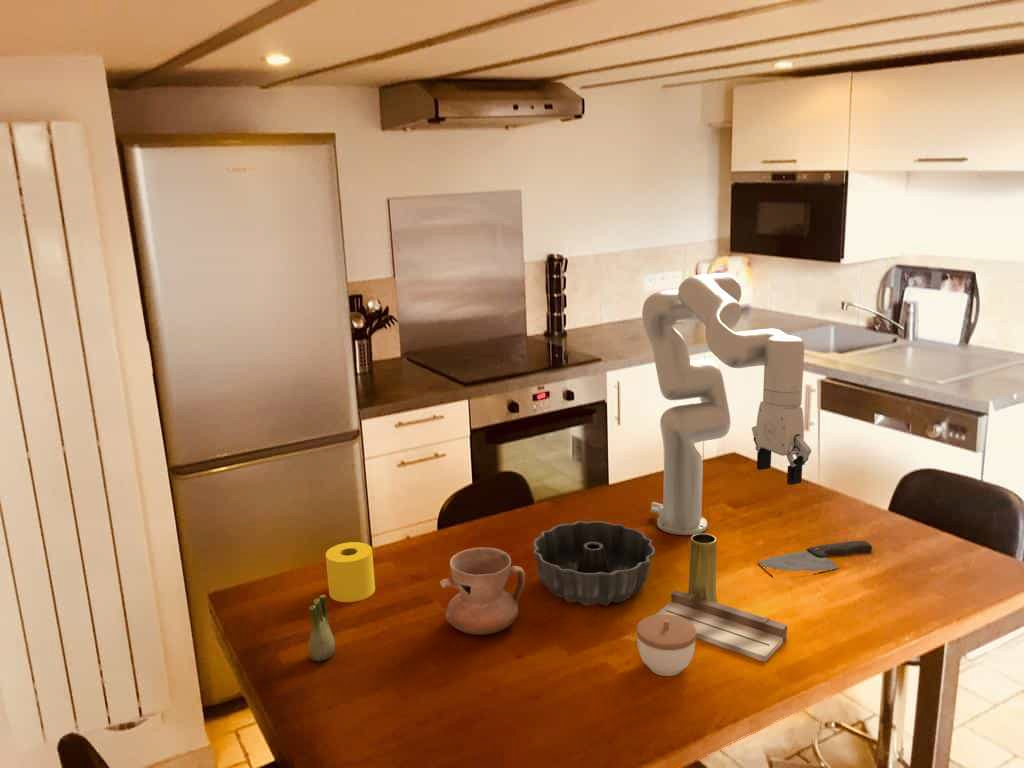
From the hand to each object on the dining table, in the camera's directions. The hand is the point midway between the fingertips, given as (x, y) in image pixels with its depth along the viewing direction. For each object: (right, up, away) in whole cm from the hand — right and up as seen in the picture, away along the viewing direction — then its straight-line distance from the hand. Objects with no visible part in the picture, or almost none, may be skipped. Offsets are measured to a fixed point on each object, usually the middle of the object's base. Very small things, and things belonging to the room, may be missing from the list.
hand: (778, 476), depth 179 cm
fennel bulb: (-92, -33, -14) cm, 99 cm away
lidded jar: (-27, -33, -21) cm, 47 cm away
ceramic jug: (-61, -30, -4) cm, 68 cm away
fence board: (-15, -30, -9) cm, 34 cm away
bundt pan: (-37, -26, +10) cm, 47 cm away
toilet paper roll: (-91, -27, +12) cm, 96 cm away
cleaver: (+15, -22, +19) cm, 33 cm away
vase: (-15, -27, +3) cm, 31 cm away
